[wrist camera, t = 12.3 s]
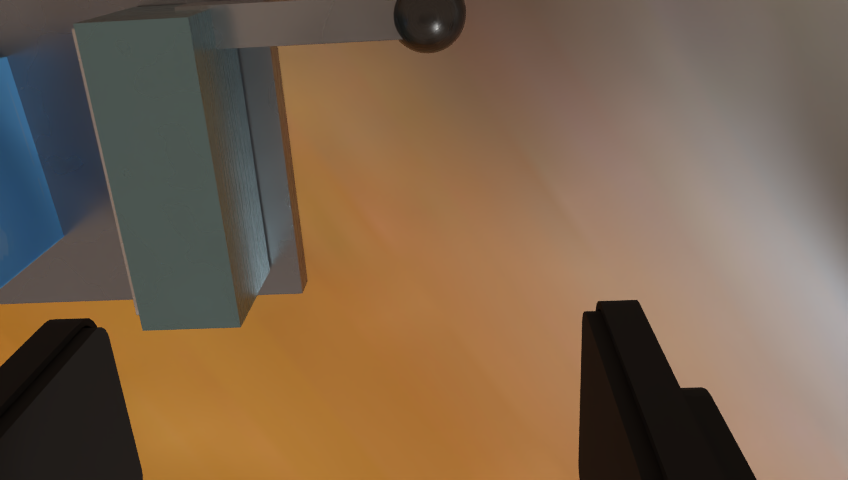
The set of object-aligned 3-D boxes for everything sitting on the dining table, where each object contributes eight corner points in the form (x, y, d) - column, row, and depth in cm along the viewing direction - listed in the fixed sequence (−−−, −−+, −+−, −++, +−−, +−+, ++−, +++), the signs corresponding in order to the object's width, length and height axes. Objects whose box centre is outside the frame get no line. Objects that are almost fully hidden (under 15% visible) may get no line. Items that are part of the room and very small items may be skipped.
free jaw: (463, -33, 22) (466, -24, 19) (473, 262, 26) (477, 319, 22) (116, -13, 23) (52, 0, 19) (174, 274, 27) (130, 330, 23)
